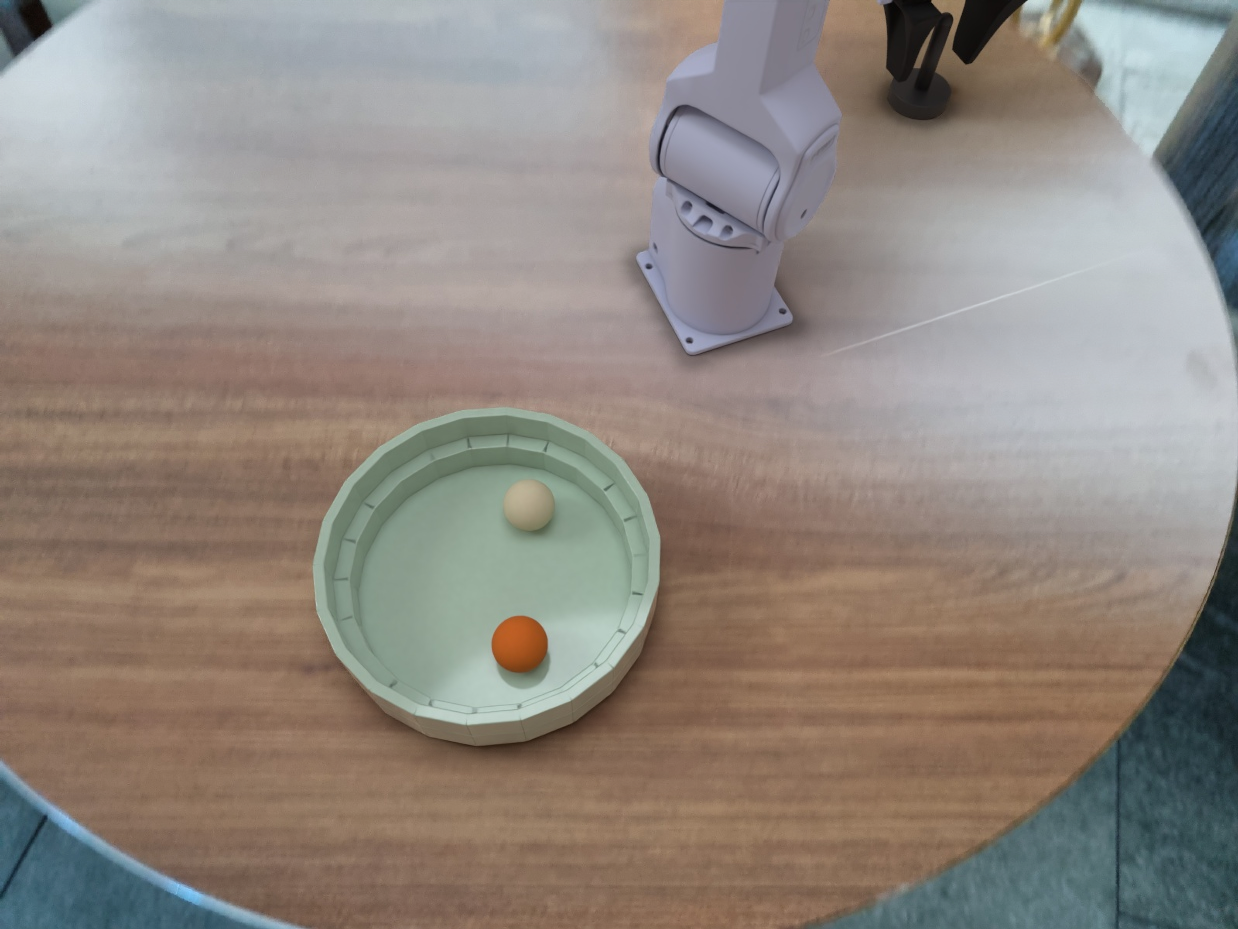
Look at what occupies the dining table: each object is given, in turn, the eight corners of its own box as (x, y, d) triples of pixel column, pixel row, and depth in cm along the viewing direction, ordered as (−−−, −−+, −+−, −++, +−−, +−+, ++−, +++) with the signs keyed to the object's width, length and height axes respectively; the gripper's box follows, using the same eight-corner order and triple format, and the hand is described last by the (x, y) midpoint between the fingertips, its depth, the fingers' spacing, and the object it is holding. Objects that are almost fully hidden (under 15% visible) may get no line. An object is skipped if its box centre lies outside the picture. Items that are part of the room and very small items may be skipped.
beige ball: (498, 503, 55) (493, 479, 52) (545, 487, 56) (543, 462, 53) (514, 546, 54) (510, 523, 51) (563, 529, 54) (561, 506, 52)
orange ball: (487, 638, 51) (481, 619, 48) (538, 619, 51) (535, 599, 49) (504, 688, 50) (499, 671, 47) (556, 668, 50) (554, 650, 48)
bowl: (304, 507, 56) (279, 466, 51) (589, 415, 59) (588, 369, 55) (381, 803, 47) (360, 783, 43) (707, 673, 51) (718, 643, 47)
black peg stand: (876, 87, 76) (903, 1, 69) (926, 74, 77) (957, -12, 70) (906, 125, 74) (937, 39, 67) (958, 111, 75) (993, 25, 68)
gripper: (1050, -166, 64) (979, 14, 76) (867, -128, 61) (823, 54, 73) (1113, -113, 61) (1029, 67, 72) (923, -69, 58) (867, 111, 69)
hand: (929, 65), depth 72 cm, fingers open, 5 cm apart
